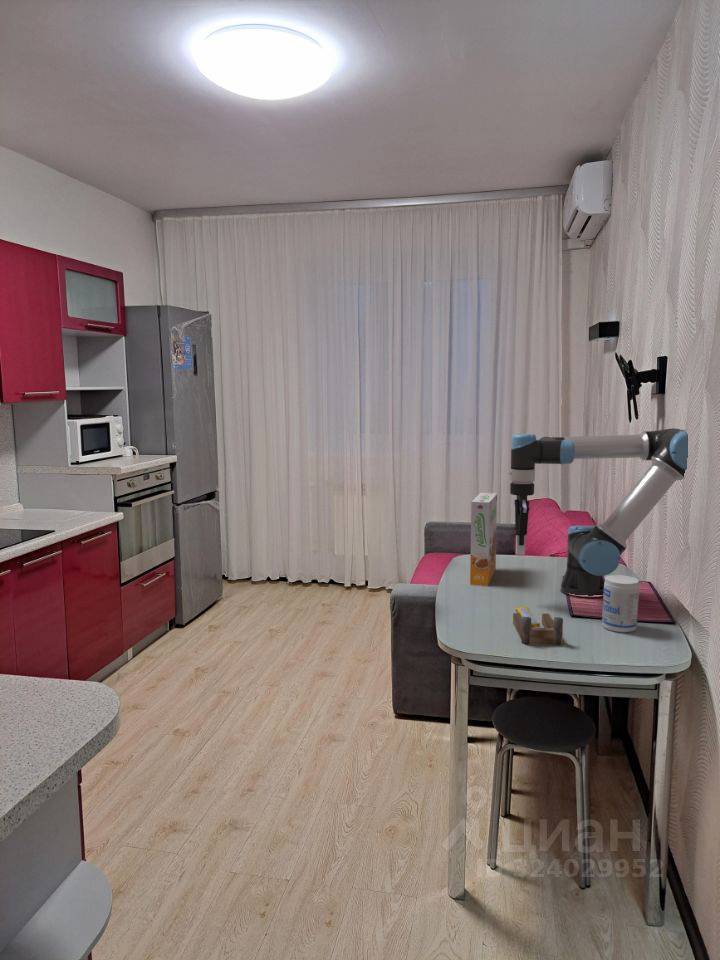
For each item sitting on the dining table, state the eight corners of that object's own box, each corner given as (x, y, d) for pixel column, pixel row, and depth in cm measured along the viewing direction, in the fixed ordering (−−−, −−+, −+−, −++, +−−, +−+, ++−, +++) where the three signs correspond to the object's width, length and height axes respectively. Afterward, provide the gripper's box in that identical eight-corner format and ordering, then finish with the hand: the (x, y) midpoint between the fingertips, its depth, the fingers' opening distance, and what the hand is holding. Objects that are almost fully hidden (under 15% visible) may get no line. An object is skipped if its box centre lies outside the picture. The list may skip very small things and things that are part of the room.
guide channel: (549, 623, 207) (549, 600, 206) (563, 645, 189) (563, 620, 188) (512, 622, 207) (512, 600, 207) (522, 644, 190) (523, 619, 189)
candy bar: (541, 629, 203) (541, 623, 203) (526, 629, 203) (526, 623, 203) (527, 611, 220) (527, 605, 220) (514, 611, 220) (514, 605, 220)
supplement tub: (595, 627, 203) (597, 578, 201) (611, 620, 210) (613, 572, 208) (627, 636, 196) (630, 585, 194) (642, 628, 202) (645, 578, 201)
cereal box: (487, 585, 247) (489, 502, 243) (470, 584, 248) (471, 501, 245) (495, 570, 268) (497, 493, 264) (479, 569, 270) (480, 492, 266)
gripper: (507, 479, 229) (505, 549, 232) (513, 484, 216) (511, 559, 219) (530, 479, 228) (528, 550, 231) (538, 485, 215) (535, 559, 218)
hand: (520, 554), depth 225 cm, fingers closed
